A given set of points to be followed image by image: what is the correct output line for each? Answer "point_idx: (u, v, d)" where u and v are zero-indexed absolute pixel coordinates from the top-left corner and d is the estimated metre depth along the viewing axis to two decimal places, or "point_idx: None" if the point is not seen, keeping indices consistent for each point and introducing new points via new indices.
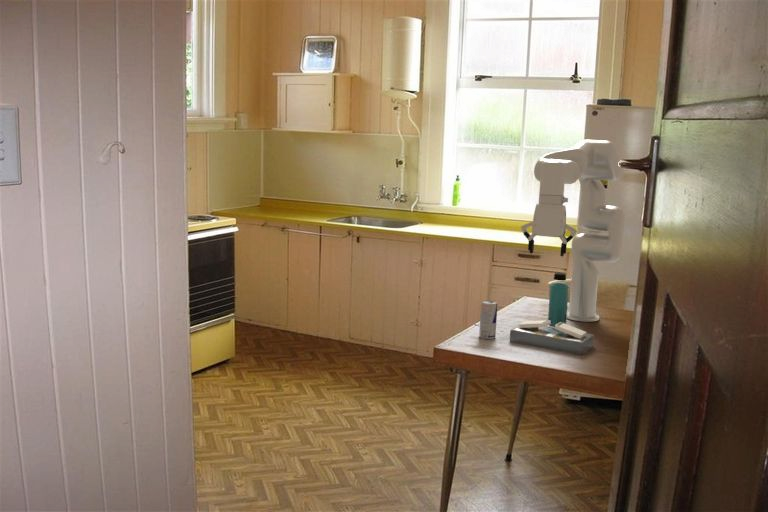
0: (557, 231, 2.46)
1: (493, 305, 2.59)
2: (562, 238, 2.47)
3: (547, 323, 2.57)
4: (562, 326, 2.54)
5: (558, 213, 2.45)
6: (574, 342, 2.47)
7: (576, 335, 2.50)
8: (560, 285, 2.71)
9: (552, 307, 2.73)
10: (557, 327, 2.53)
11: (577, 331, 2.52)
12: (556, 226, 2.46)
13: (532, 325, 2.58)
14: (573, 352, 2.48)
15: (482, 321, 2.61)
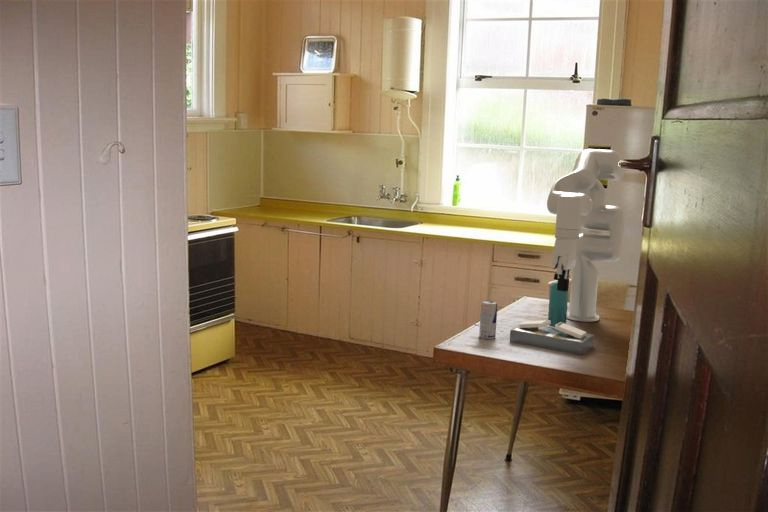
0: (574, 262, 2.53)
1: (493, 305, 2.59)
2: (569, 272, 2.53)
3: (547, 323, 2.57)
4: (562, 326, 2.54)
5: (576, 245, 2.52)
6: (574, 342, 2.47)
7: (576, 335, 2.50)
8: None
9: (552, 307, 2.73)
10: (557, 327, 2.53)
11: (577, 331, 2.52)
12: (574, 257, 2.53)
13: (532, 325, 2.58)
14: (573, 352, 2.48)
15: (482, 321, 2.61)
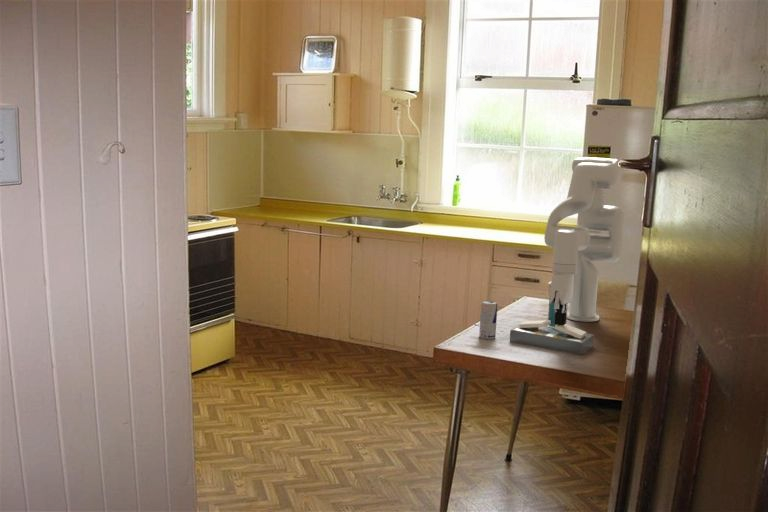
0: (571, 296, 2.55)
1: (493, 305, 2.59)
2: (566, 306, 2.55)
3: (547, 323, 2.57)
4: (562, 326, 2.54)
5: (573, 279, 2.54)
6: (574, 342, 2.47)
7: (576, 335, 2.50)
8: None
9: (552, 307, 2.73)
10: (557, 327, 2.53)
11: (577, 331, 2.52)
12: (572, 291, 2.55)
13: (532, 325, 2.58)
14: (573, 352, 2.48)
15: (482, 321, 2.61)
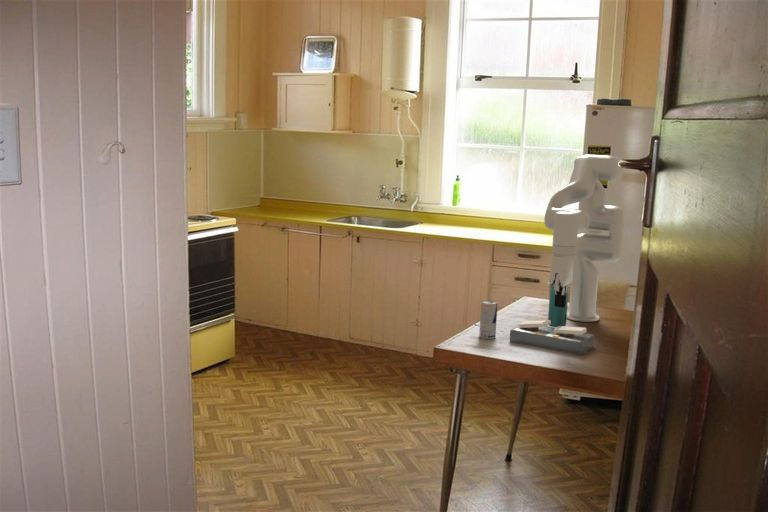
0: (571, 278, 2.55)
1: (493, 305, 2.59)
2: (566, 288, 2.54)
3: (547, 323, 2.57)
4: (561, 328, 2.54)
5: (573, 261, 2.54)
6: (574, 342, 2.47)
7: (576, 332, 2.50)
8: None
9: (552, 307, 2.73)
10: (556, 330, 2.54)
11: (576, 329, 2.52)
12: (571, 274, 2.54)
13: (532, 325, 2.58)
14: (573, 352, 2.48)
15: (482, 321, 2.61)
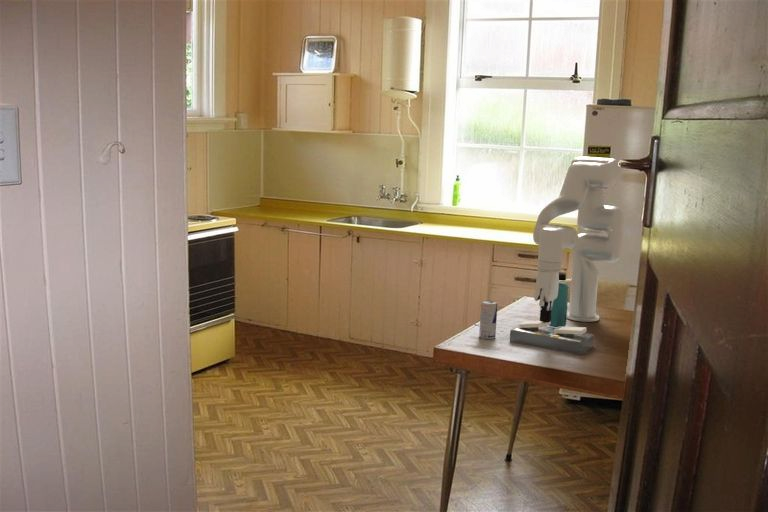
0: (556, 293, 2.58)
1: (493, 305, 2.59)
2: (551, 303, 2.57)
3: (547, 323, 2.57)
4: (561, 328, 2.54)
5: (558, 276, 2.57)
6: (574, 342, 2.47)
7: (576, 332, 2.50)
8: (560, 285, 2.71)
9: (552, 307, 2.73)
10: (556, 331, 2.54)
11: (576, 329, 2.52)
12: (557, 289, 2.57)
13: (532, 325, 2.58)
14: (573, 352, 2.48)
15: (482, 321, 2.61)
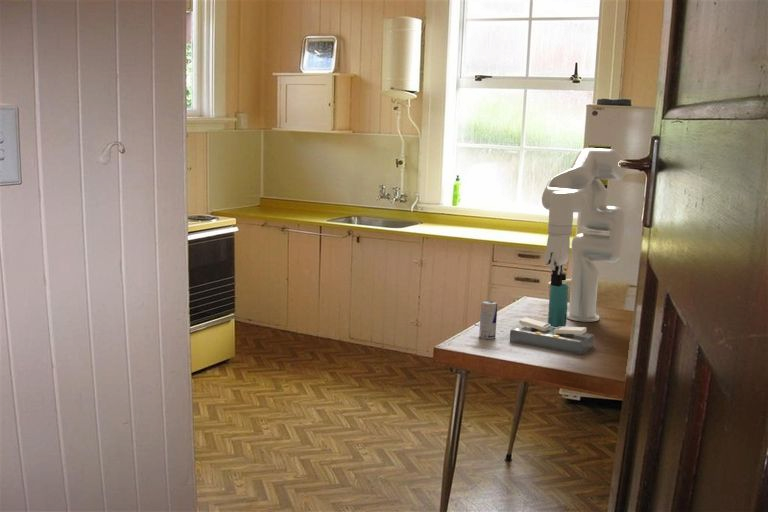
0: (567, 257, 2.57)
1: (493, 305, 2.59)
2: (562, 267, 2.57)
3: (547, 327, 2.58)
4: (561, 328, 2.54)
5: (569, 240, 2.56)
6: (574, 342, 2.47)
7: (576, 332, 2.50)
8: None
9: (552, 307, 2.73)
10: (556, 331, 2.54)
11: (576, 329, 2.52)
12: (568, 253, 2.56)
13: (532, 325, 2.58)
14: (573, 352, 2.48)
15: (482, 321, 2.61)
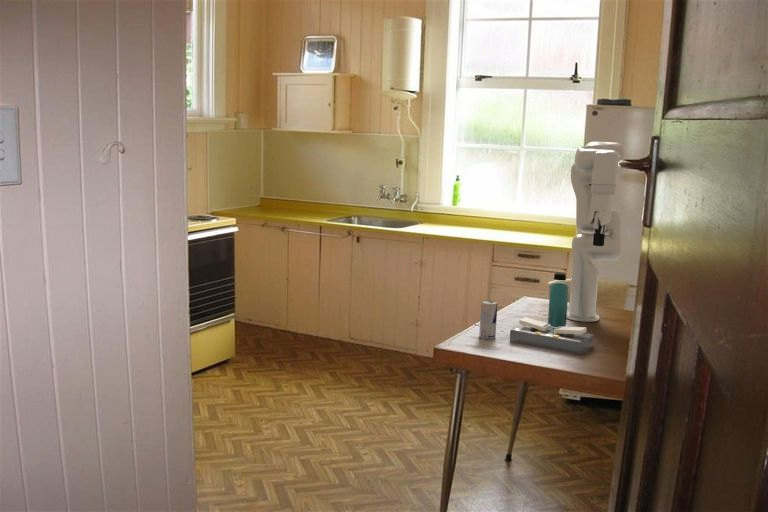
0: (610, 218, 2.59)
1: (493, 305, 2.59)
2: (605, 227, 2.58)
3: (547, 328, 2.58)
4: (561, 328, 2.54)
5: (611, 200, 2.57)
6: (574, 342, 2.47)
7: (576, 332, 2.50)
8: (560, 285, 2.71)
9: (552, 307, 2.73)
10: (556, 331, 2.54)
11: (576, 329, 2.52)
12: (610, 213, 2.58)
13: (532, 325, 2.58)
14: (573, 352, 2.48)
15: (482, 321, 2.61)
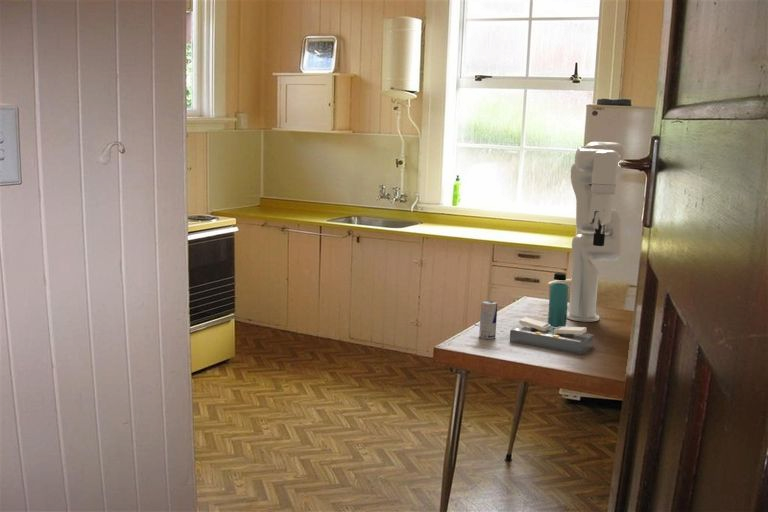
0: (610, 217, 2.59)
1: (493, 305, 2.59)
2: (605, 227, 2.58)
3: (547, 328, 2.58)
4: (561, 328, 2.54)
5: (611, 200, 2.57)
6: (574, 342, 2.47)
7: (576, 332, 2.50)
8: (560, 285, 2.71)
9: (552, 307, 2.73)
10: (556, 331, 2.54)
11: (576, 329, 2.52)
12: (610, 213, 2.58)
13: (532, 325, 2.58)
14: (573, 352, 2.48)
15: (482, 321, 2.61)
